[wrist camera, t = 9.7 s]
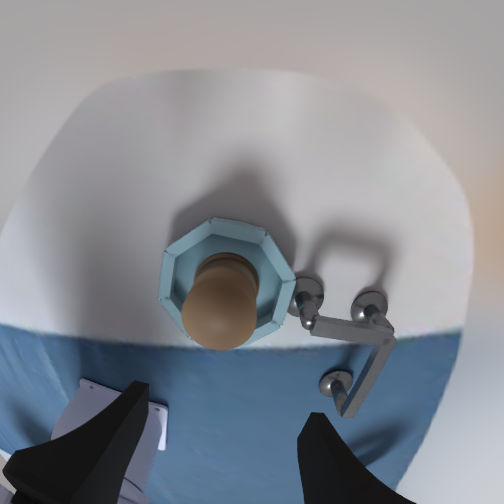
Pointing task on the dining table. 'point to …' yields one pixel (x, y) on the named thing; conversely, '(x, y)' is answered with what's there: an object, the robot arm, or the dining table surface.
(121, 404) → the robot arm
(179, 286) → the dish
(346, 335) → the bent rail
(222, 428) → the dining table surface
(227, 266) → the cylinder
